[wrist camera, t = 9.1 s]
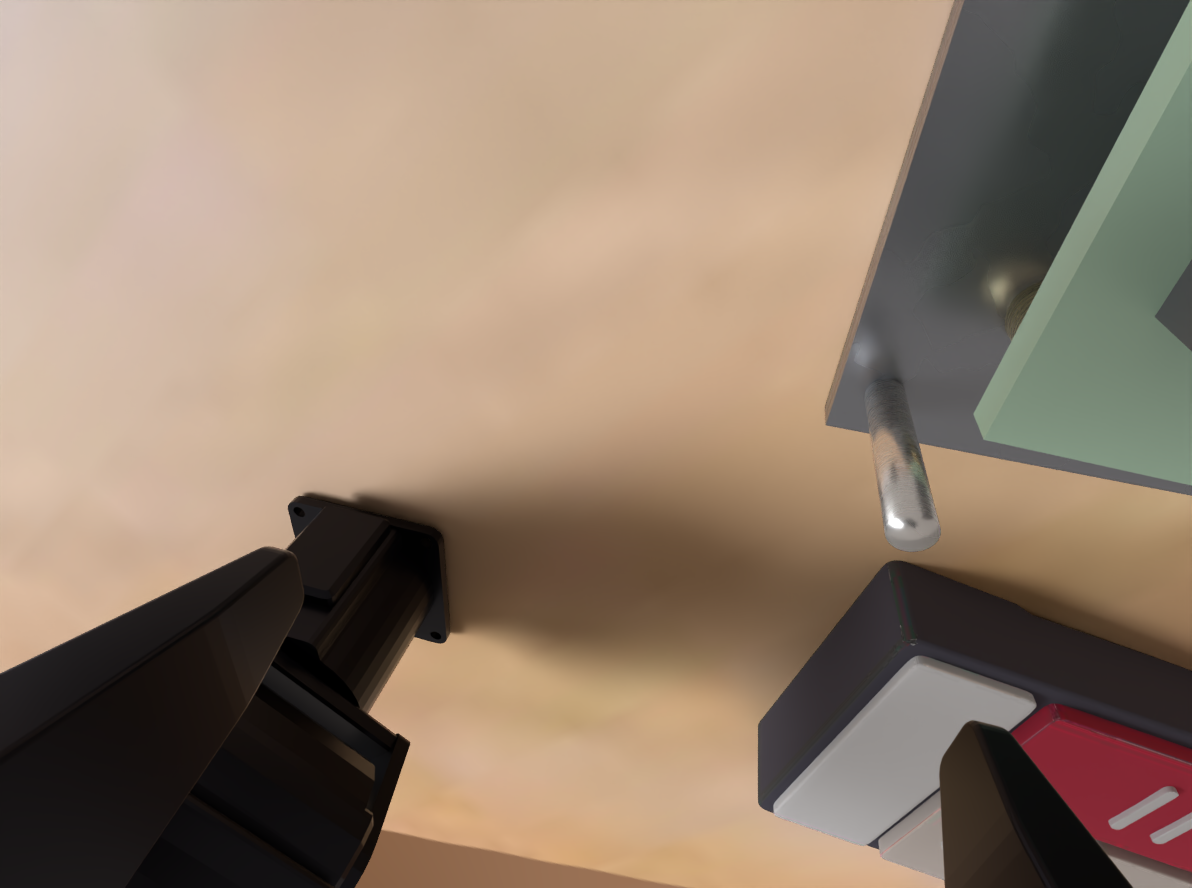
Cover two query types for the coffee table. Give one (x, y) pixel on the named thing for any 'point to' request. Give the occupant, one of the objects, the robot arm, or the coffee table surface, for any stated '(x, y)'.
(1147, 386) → the board
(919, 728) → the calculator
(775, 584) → the coffee table surface
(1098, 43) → the chassis
